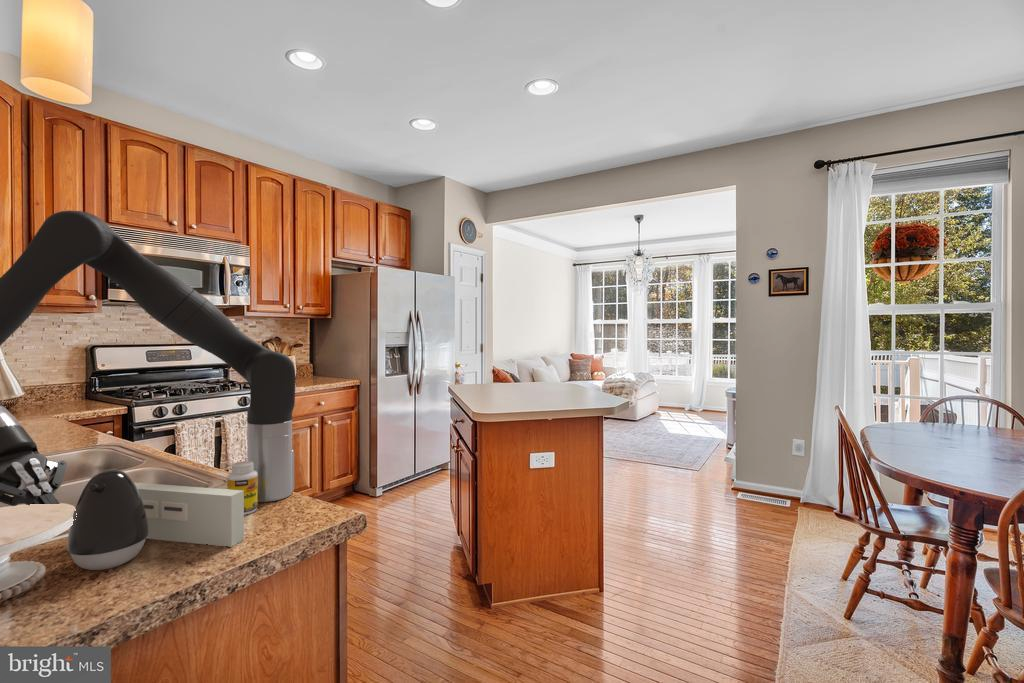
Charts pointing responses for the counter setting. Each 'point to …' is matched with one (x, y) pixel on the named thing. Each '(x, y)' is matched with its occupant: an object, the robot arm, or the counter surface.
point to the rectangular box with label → (193, 514)
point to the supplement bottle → (244, 484)
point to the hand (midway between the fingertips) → (53, 515)
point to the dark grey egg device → (107, 522)
